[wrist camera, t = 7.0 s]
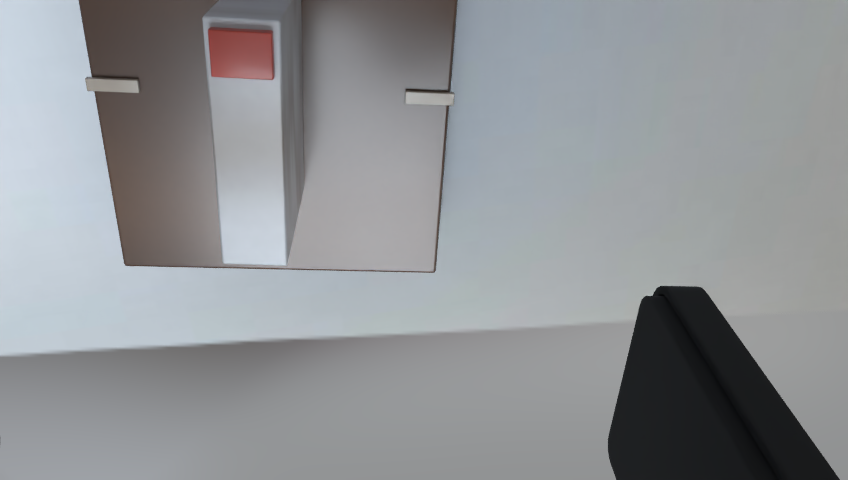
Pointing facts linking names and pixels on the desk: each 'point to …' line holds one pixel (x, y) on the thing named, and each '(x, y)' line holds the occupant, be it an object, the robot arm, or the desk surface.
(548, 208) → the desk surface
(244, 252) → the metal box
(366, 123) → the tap console
